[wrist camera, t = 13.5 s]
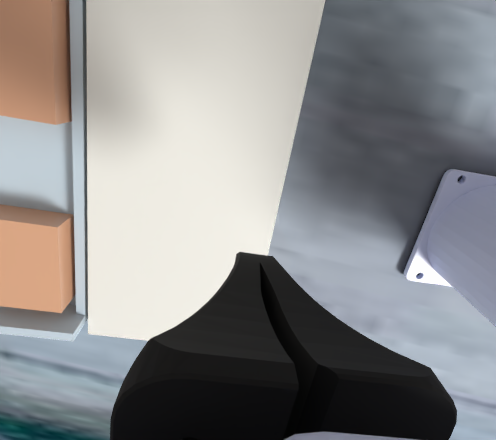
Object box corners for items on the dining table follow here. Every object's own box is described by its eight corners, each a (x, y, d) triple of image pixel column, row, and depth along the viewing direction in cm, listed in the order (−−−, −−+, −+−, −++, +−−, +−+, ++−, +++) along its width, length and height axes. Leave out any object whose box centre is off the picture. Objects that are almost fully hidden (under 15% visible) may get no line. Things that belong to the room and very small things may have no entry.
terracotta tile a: (71, -4, 16) (50, -16, 14) (73, 120, 18) (55, 124, 16) (-38, -27, 16) (-75, -43, 14) (-22, 104, 18) (-52, 106, 16)
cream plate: (318, 2, 17) (326, -6, 15) (245, 336, 25) (245, 351, 24) (99, -47, 16) (85, -60, 14) (96, 319, 24) (88, 333, 22)
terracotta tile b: (73, 214, 20) (57, 227, 19) (75, 294, 23) (61, 313, 21) (-12, 202, 20) (-37, 214, 18) (-2, 285, 22) (-23, 303, 20)
